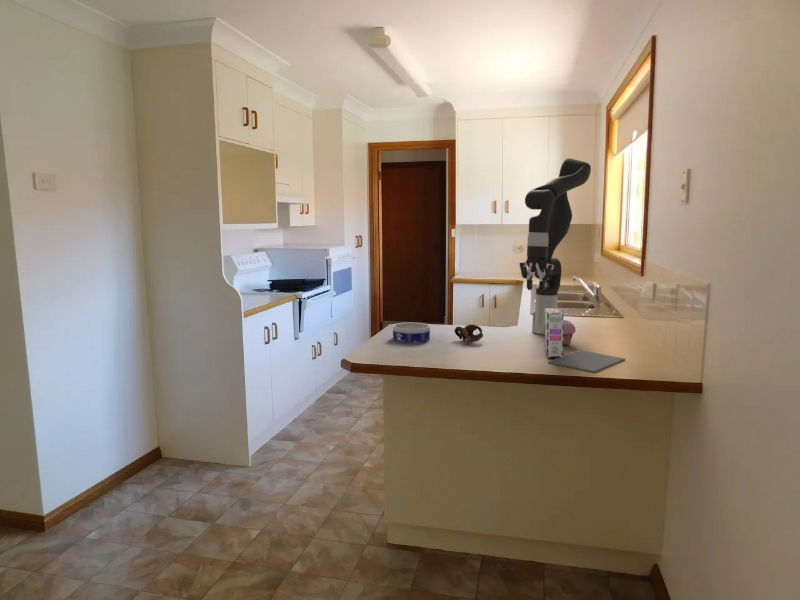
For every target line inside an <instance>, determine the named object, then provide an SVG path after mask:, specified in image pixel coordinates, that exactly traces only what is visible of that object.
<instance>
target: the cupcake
mask: <svg viewBox="0 0 800 600" xmlns="http://www.w3.org/2000/svg"><path fill="white" fill-rule="evenodd" d="M576 331H577V330H576V326H575V324H573V323H572V322H571V321H570V320H565V319H563V346H564V345H566V346H569V345H570V344H571V341H572V339H573V336H574V334H575V333H576Z"/></svg>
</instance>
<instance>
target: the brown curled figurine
mask: <svg viewBox="0 0 800 600" xmlns="http://www.w3.org/2000/svg"><path fill="white" fill-rule="evenodd" d="M453 331H454V334H455V335H456V336H457V337H458V338H459V340H463V341H464V342H465V344H467V345H470V344H471V343H475V342H479V341H480V340H481V339H482V338H483V337H484V334H483V329H482V328H481V327H480V326H479V325H476V324H473V323H471V324H470V323H469V324H467V325H465V326H464V327H463V326H456V327H455V328H454V329H453ZM475 331H478V332H479V333H478V334H474V332H475Z"/></svg>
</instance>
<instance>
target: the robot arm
mask: <svg viewBox="0 0 800 600" xmlns="http://www.w3.org/2000/svg"><path fill="white" fill-rule="evenodd" d="M591 171H592V167H591V164H589V163H588V162H586V161H582V160H578V159H575V158H569V157H568V158H565V159H564V160H563V162H562V163H561V167H560V170H559V174H558V176H557V177H555V178H552V179H550V180H548V181H547V182H546V183H545V184H543V185H540V186H537V187H535V188H532V189H531V190H529V191H528V192H527V193H526V195H525V197H524V204H525V206H526V208H528V209H530V210H535V211H537V210H538V211H539V210H540V212H539V214H537V215H534V216H531V217H530V218H529V221H528V234H527V243H526V245H527V246H526V257H527V258H526V261H524V262H519V269H520V273H521V276H522V278H523V279H526V288H527V290H528V291H532V290H533V278H534V277H535V278H537V279H538V280H539V281H538V286H537V287H536V288H535V306H534V307H535V308H534V310H533V311H532V324H531V326H532V327H531V332H532V333H535V334H538V335H544V336H545V308H558V295H559V294H558V293H559V290H560V288H561V280H562V279H561V278H562V271H563V270H562V264H561V261H560V260H559V259H558V258H557V257H553V255H554V252H555V250H556V249H557V248H558V246H559V244H561V242H562V241H563V239H564V238H565V237H566V235H567V234H568V232H569V229H570V226H571V223H572V218H573V211H572V208H571V204H570V201H569V196H568V191H572V190H574V189H575V188H578V187H580V186H582V185H584V184H586V182H587V181H588V180H589V178H590V176H591ZM527 267H528V269H527Z"/></svg>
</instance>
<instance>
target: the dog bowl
mask: <svg viewBox="0 0 800 600" xmlns="http://www.w3.org/2000/svg"><path fill="white" fill-rule="evenodd" d="M430 332H431V325H430V324H428V323H423V322H414V321H413V322H411V321H410V322H399V323H394V324H393V325H392V336H393V337H392V339H393V341H394V342H397V343H402V344H423V343H427V342H429V341H430V339H431V338H430V336H431V335H430Z"/></svg>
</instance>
